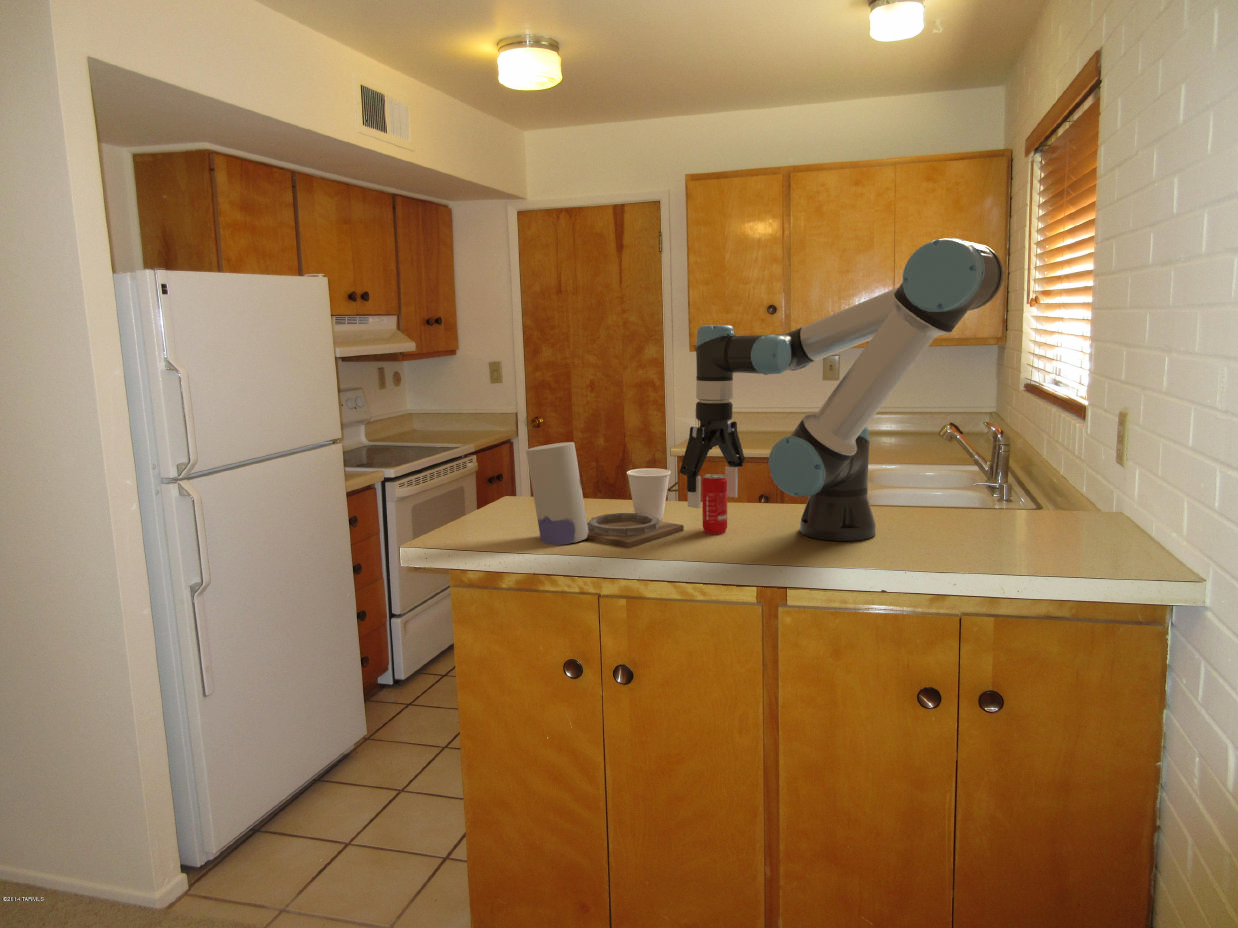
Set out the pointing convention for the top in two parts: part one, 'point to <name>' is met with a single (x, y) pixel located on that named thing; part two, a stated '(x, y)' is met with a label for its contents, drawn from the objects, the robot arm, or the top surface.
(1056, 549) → the top surface
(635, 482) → the cup
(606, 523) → the collar board
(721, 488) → the beverage can
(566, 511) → the container
